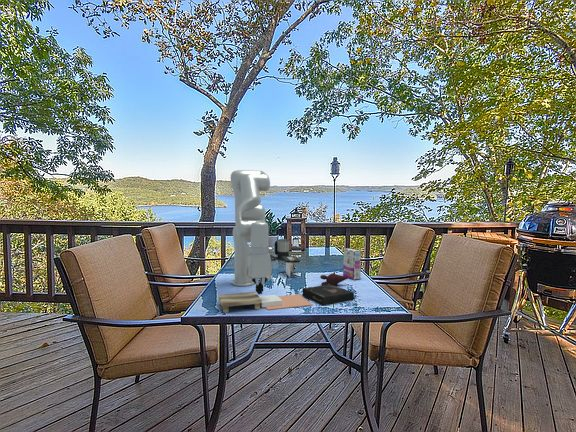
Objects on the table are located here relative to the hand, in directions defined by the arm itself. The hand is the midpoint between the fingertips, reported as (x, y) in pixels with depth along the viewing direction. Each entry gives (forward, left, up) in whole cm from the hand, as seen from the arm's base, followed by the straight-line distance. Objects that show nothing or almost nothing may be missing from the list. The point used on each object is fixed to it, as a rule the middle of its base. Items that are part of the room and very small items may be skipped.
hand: (259, 293), depth 143 cm
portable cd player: (0, +32, -6) cm, 33 cm away
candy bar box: (-31, +62, -5) cm, 70 cm away
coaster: (0, +4, -4) cm, 6 cm away
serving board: (0, -9, -5) cm, 10 cm away
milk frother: (-97, +38, -5) cm, 104 cm away
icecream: (-19, +45, -5) cm, 49 cm away
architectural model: (-48, +31, -6) cm, 58 cm away
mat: (0, +11, -5) cm, 12 cm away
